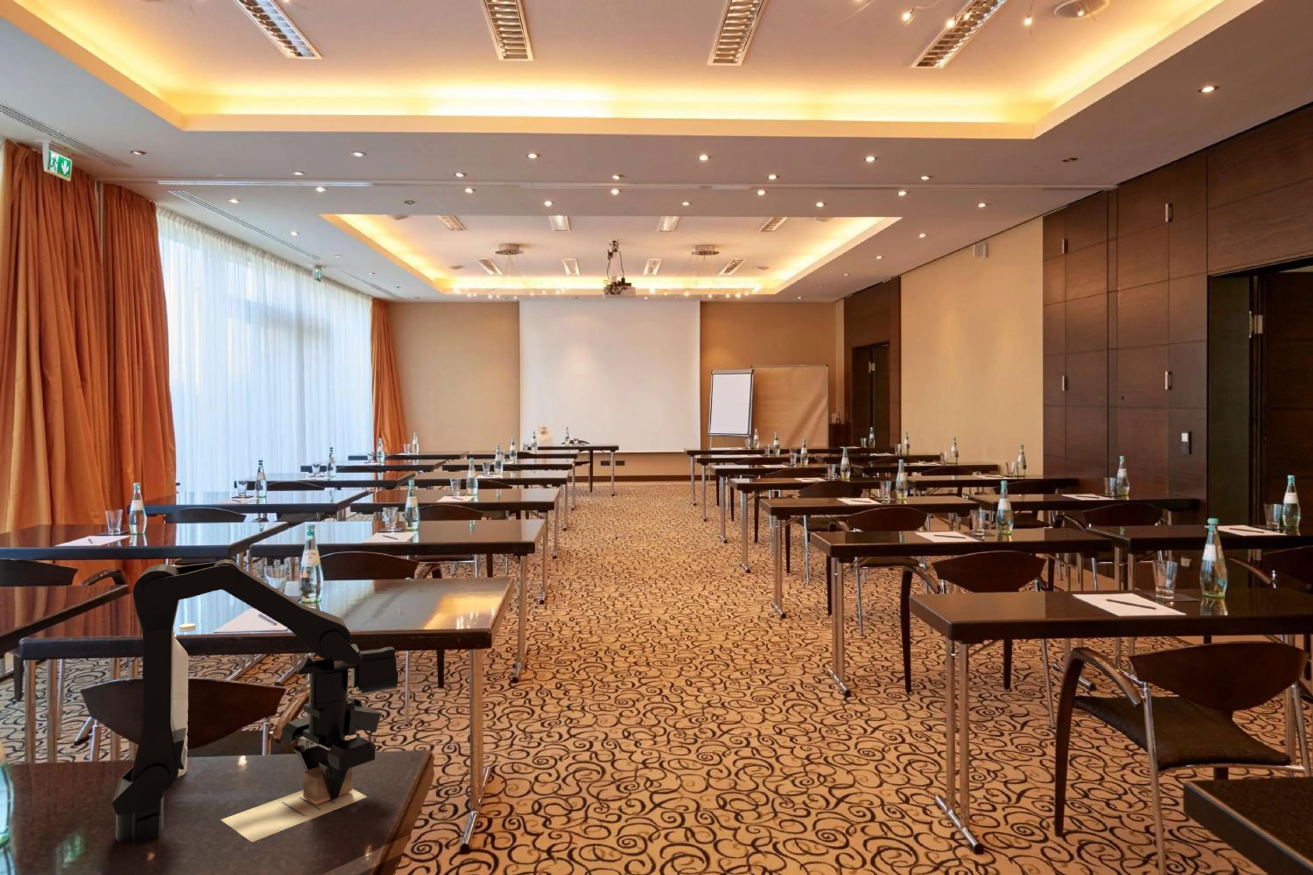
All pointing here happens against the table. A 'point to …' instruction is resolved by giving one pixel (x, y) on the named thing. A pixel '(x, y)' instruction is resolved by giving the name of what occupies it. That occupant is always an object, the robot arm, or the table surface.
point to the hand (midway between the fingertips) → (327, 794)
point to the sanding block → (321, 785)
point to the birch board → (284, 814)
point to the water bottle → (181, 686)
